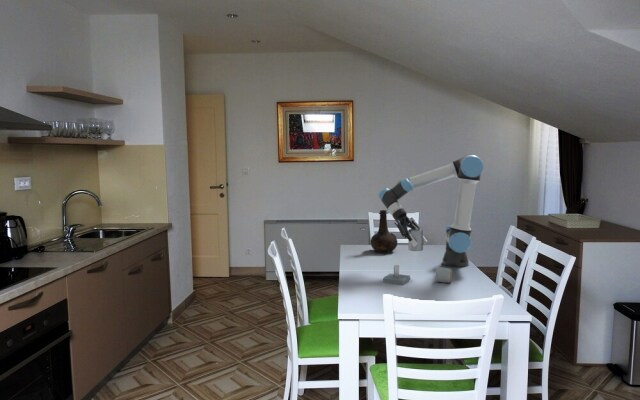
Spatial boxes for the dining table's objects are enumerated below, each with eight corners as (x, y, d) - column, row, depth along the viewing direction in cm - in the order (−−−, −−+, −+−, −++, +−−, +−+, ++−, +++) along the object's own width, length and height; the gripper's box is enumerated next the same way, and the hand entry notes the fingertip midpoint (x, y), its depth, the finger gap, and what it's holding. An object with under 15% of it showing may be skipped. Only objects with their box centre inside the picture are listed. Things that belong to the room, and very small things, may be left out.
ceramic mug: (451, 284, 228) (452, 269, 227) (435, 283, 230) (435, 268, 229) (451, 279, 238) (452, 264, 237) (435, 278, 240) (436, 264, 240)
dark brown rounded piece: (401, 253, 299) (401, 211, 296) (375, 255, 295) (376, 212, 292) (391, 248, 316) (391, 208, 314) (366, 249, 312) (366, 209, 310)
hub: (423, 248, 249) (423, 229, 248) (420, 251, 243) (420, 231, 242) (411, 248, 253) (411, 228, 252) (407, 250, 246) (407, 230, 245)
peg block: (410, 279, 238) (410, 264, 237) (403, 284, 228) (403, 269, 227) (389, 276, 243) (390, 262, 242) (382, 282, 233) (382, 266, 232)
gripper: (405, 214, 264) (428, 245, 254) (381, 218, 251) (404, 251, 241) (413, 206, 260) (436, 237, 249) (388, 209, 247) (412, 242, 236)
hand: (420, 244), depth 245 cm, fingers closed on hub, 8 cm apart
